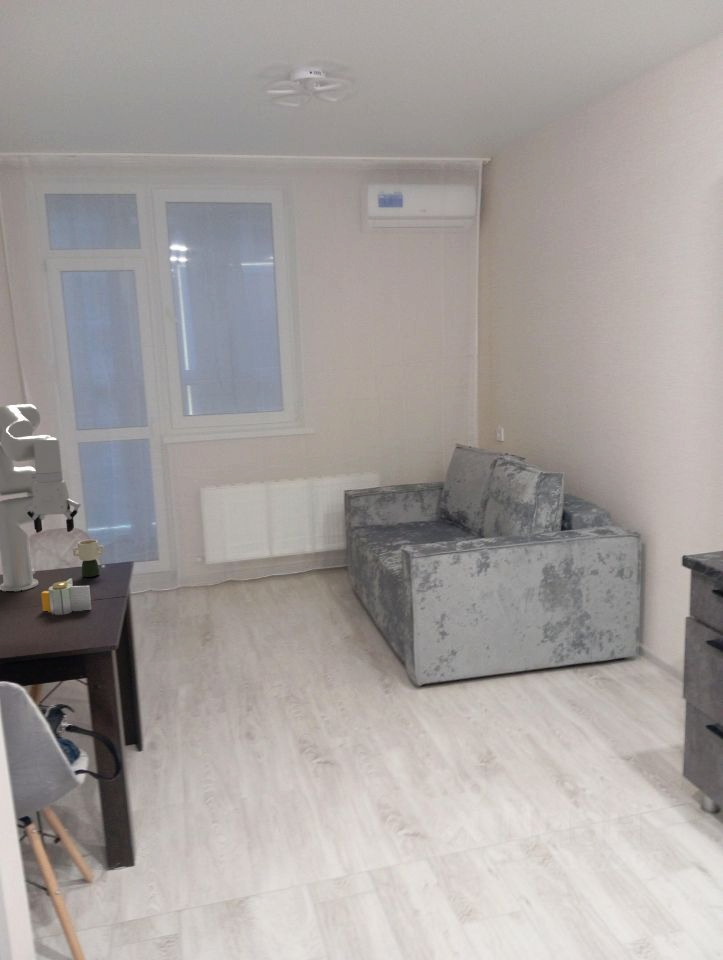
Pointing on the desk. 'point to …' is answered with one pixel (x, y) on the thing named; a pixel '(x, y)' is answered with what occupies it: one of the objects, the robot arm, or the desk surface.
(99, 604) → the desk surface
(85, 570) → the character mug
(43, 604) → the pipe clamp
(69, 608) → the hinge
